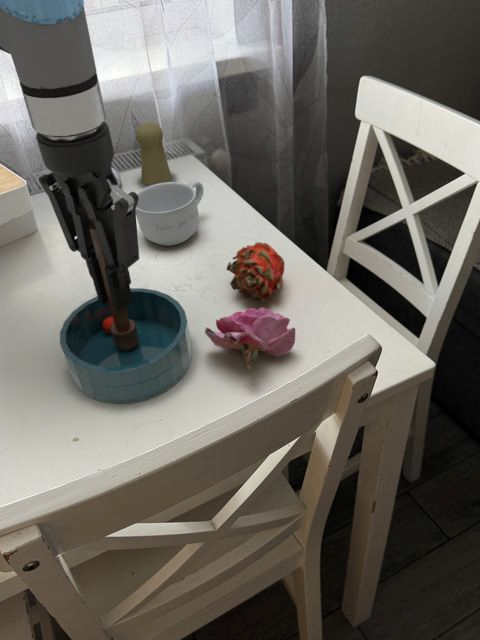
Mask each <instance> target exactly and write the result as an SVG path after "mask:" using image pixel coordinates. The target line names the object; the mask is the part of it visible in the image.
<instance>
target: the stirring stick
mask: <svg viewBox="0 0 480 640" xmlns="http://www.w3.org/2000/svg"><path fill="white" fill-rule="evenodd" d="M89 231H90V234H91V238H92V242H93V245H94V249H95V253H96V257H97V260H98V264H99V268H100V271H101V275H102V279H103V283H104V286H105V290H106V294H107V298H108V301H109V305H110V309H111V312H112V316H113V320H114V323H113V324H112V325H111V333H112V336H113V340H114V343H115V346H116V347H117V348H118V349H120V350H130V349H133V348H134V347H136V346H137V345H138V343H139V337H138V333H137V329H136V325H135V322H134V321H133V320H131V319H129V318H128V314H127V310H126V306H125V307H124V308H122V309H121V310H120V311H118V310H115V308H114V304H113V300H112V296H111V292H110V289H109V285H108V281H107V277H106V273H105V269H104V268H105V267H107V266H108V263H107V260H106V257H105V254H104V251H103V248H102V245H101V242H100V239H99V236H98V233H97V230H96V227H95V224H94V222H92V223H90V224H89Z"/></svg>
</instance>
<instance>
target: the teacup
mask: <svg viewBox="0 0 480 640" xmlns="http://www.w3.org/2000/svg"><path fill="white" fill-rule="evenodd" d="M194 188H195V189H194ZM136 194H137V195H138V197H139V200H138V204H137V207H136V221H137V224H138V226H139V229H140V231H141V233H142V235H143V236H144V237H145V238H146V239H147V240H149V241H151V242H153V243H156V244H157V245H160V246H167V247H169V246H170V247H171V246H176V245H180V244H183V243H185V242H186V241H187V240H188V239H189V238H191V236H192V235H194V234H195V232H197V231H196V230H197V229H198V227H199V224H200V223H199V222H200V218H199V217H200V216H199V208H198V206H199V204H200V203H201V200H202V199H203V196H204V186H203V184H202V183H201V182H200V181H199V180H196V179H192V180H189V181H188V182H187V184H186V183H185V182H184V183H183V182H177V181H170V182H165V183H159V184H155V185H152V186H147V187H144V188H142V189H141V190H139V191H138V192H137V193H136Z"/></svg>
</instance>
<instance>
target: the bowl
mask: <svg viewBox="0 0 480 640" xmlns="http://www.w3.org/2000/svg"><path fill="white" fill-rule="evenodd" d="M130 290H131V294H132V298H133V300H132V301H131V302H129V303H128V304H127V305H126V310H127V314H128V318H129V319H131V320H133V321H134V322H135V325H136V329H137V333H138V337H139V343H138V345H137V346H136V347H134V348H133V349H130V350H120V349H118V348H117V347H116V346H115V343H114V340H113V336H112V333H107V332H106V331H104V329H103V326H102V324H103V321H104V320H105V319H106V318H107V317H113V316H112V312H111V309H110V305H109V301H108V302H106V303H105V304H104V305H103V304H101V303H99V300H98V296H97V295H96V296H93V297H92V298H90V299H89V300H87V301H85V302H83V303H82V304H80V305H79V306H78V307H77V308H76V309H74V310H73V311H72V312H71V313H70V314H69V315H68V317H67V318H66V319H65V320H64V321H63V324H62V327H61V329H60V332H59V345H60V348H61V350H62V351H61V352H62V353H63V357H64V359H65V362H66V365H67V367H68V370H69V372H70V375H71V378H72V380H73V382H74V384H75V385H76V387H77V389H79V390H80V391H81V392H82V393H83V394H84V395H86V396H87V397H89V398H92V399H94V400H96V401H100V402H103V403H108V404H120V405H121V404H132V403H133V404H134V403H138V402H142V401H146V400H149V399H152V398H155V397H157V396H159V395H161V394H163V393H165V392H167V391H169V390H170V389H171V388H172V387H173V386H175V385H176V384H177V383H178V382H179V381H180V380H181V379H182V378H183V377H184V376H185V374H186V372H187V371H188V369H189V367H190V365H191V362H192V354H193V353H192V343H191V338H190V331H189V330H190V329H189V324H188V323H189V322H188V319H187V315H186V310H185V309H184V308H183V306H182V305H181V304H180V302H179V301H178V300H176V299H175V298H173V297H172V296H171V295H169V294H167V293H164V292H161V291H159V290H156V289H149V288H143V287H142V288H141V287H138V288H136V287H135V288H131V287H130Z"/></svg>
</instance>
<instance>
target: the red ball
mask: <svg viewBox="0 0 480 640" xmlns="http://www.w3.org/2000/svg"><path fill="white" fill-rule="evenodd" d="M113 323H114V320H113V317H107V318H106V319H105V320H104V321H103V324H102V326H103V329H104V331H106V332H107V333H111V325H112V324H113Z"/></svg>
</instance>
